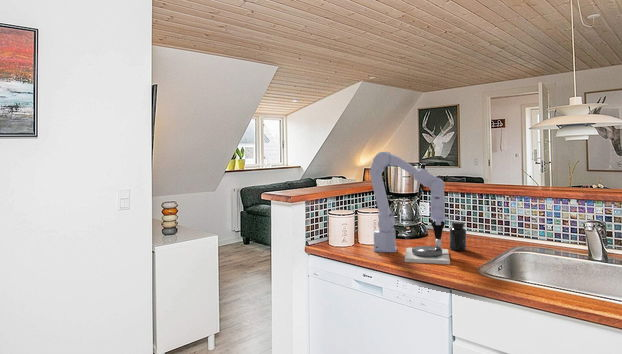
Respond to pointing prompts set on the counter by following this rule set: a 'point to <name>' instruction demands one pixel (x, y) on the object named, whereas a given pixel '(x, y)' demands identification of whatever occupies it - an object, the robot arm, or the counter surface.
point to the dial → (428, 250)
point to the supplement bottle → (457, 237)
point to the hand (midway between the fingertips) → (438, 238)
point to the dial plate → (420, 259)
